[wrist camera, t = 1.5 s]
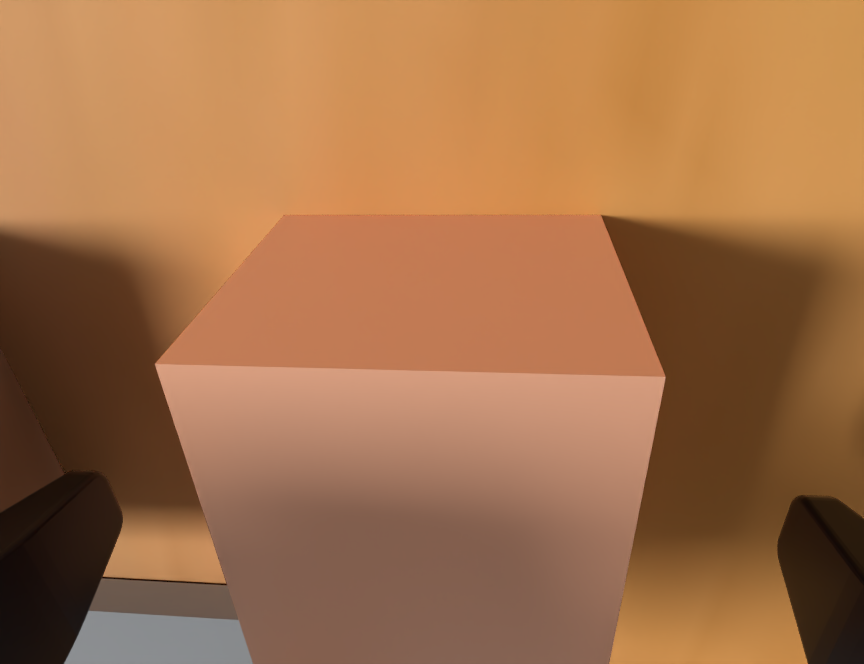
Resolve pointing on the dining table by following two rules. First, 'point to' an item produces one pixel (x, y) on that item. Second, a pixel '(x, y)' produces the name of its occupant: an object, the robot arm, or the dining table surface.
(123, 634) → the baseplate
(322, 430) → the terracotta brick
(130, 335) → the dining table surface
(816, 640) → the robot arm
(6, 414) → the walnut brick
